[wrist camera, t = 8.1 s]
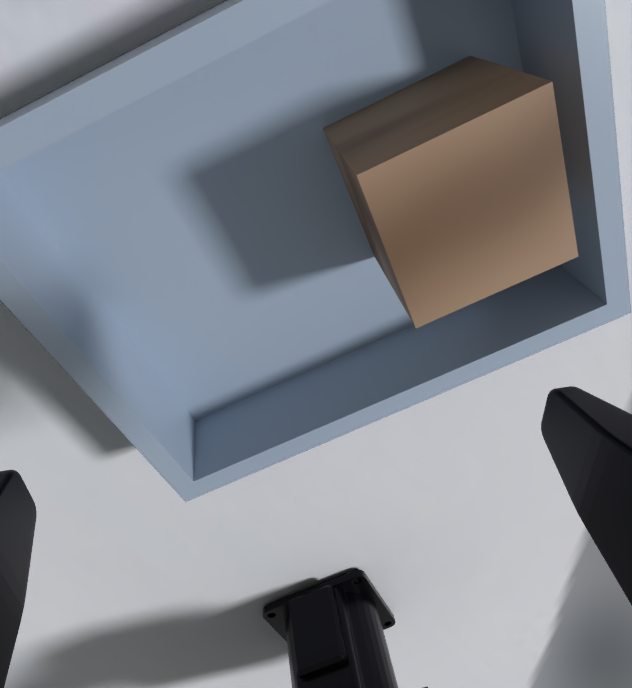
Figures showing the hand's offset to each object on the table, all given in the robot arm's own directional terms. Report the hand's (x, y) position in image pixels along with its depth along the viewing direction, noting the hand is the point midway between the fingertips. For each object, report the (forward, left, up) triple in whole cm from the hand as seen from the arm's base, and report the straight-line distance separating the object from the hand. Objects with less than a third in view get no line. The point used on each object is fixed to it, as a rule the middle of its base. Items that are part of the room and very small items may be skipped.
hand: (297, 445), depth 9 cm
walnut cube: (-1, -6, -11) cm, 13 cm away
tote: (-1, -2, -12) cm, 12 cm away
